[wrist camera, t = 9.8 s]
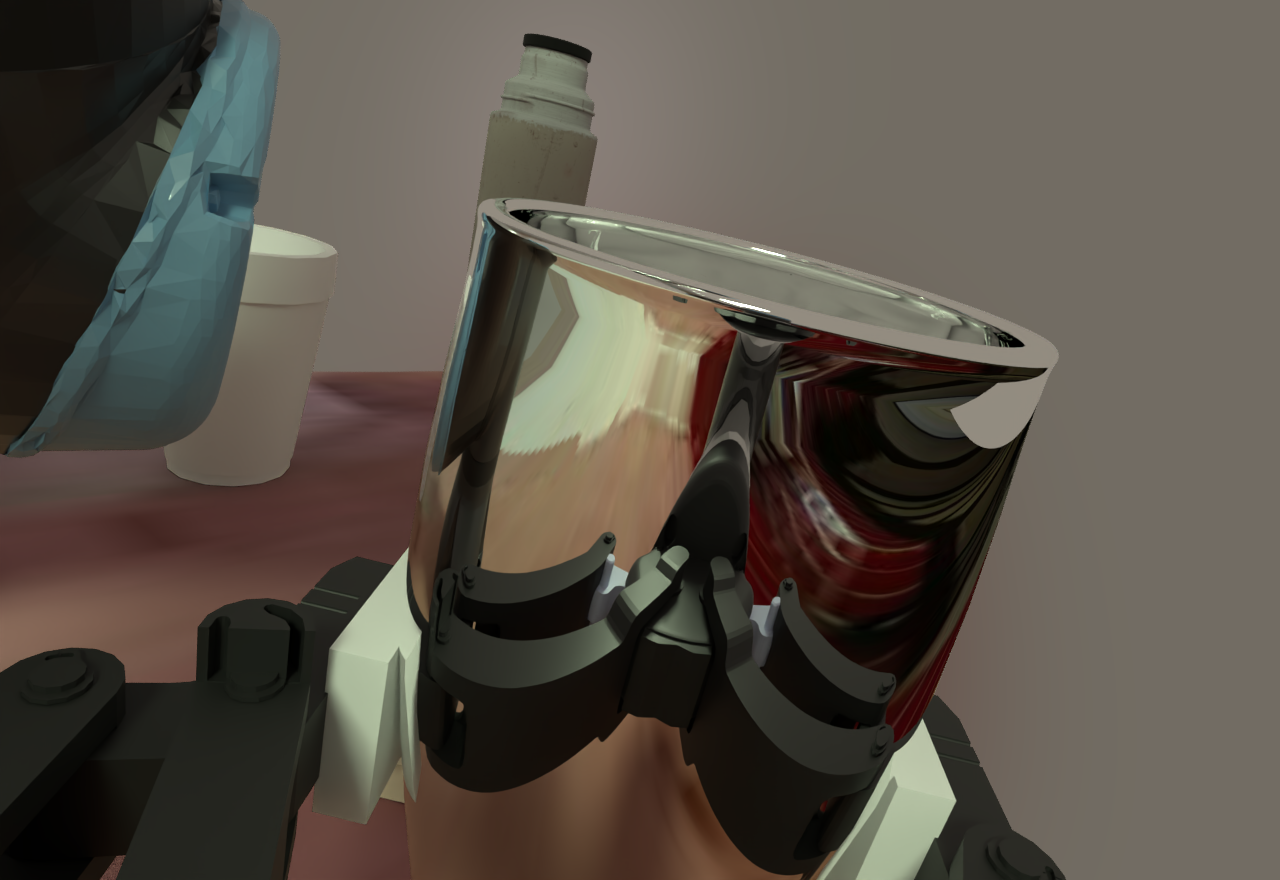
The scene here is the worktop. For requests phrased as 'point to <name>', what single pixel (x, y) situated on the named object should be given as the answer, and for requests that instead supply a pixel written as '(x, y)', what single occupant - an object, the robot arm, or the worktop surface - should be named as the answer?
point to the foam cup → (264, 365)
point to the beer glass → (688, 548)
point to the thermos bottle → (542, 128)
